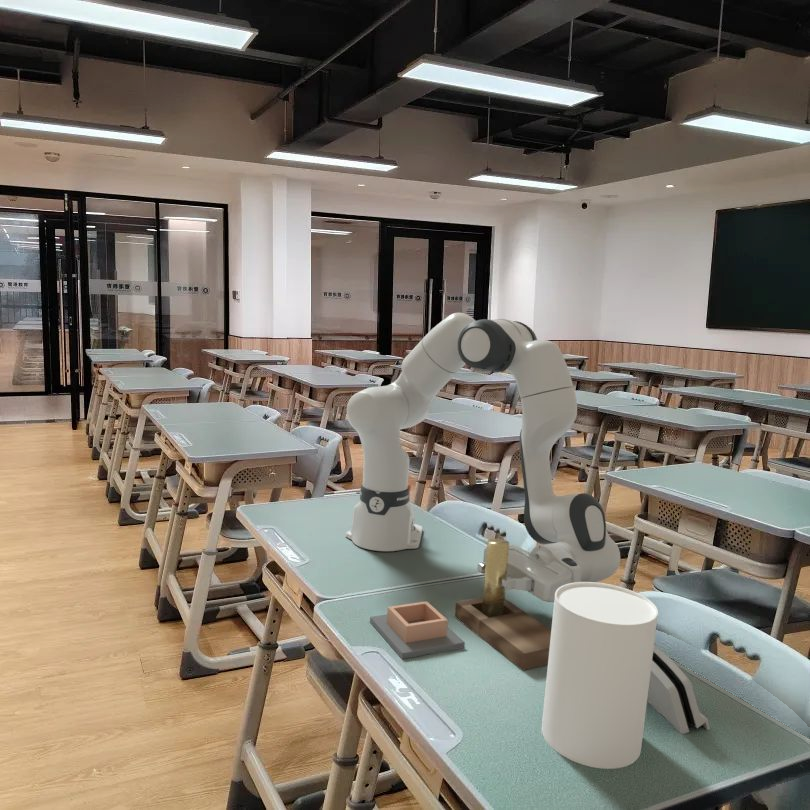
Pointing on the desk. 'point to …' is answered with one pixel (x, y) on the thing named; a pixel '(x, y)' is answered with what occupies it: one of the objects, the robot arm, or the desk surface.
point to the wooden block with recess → (508, 632)
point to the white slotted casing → (673, 694)
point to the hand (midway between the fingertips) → (491, 576)
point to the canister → (598, 673)
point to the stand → (416, 630)
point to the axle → (495, 577)
